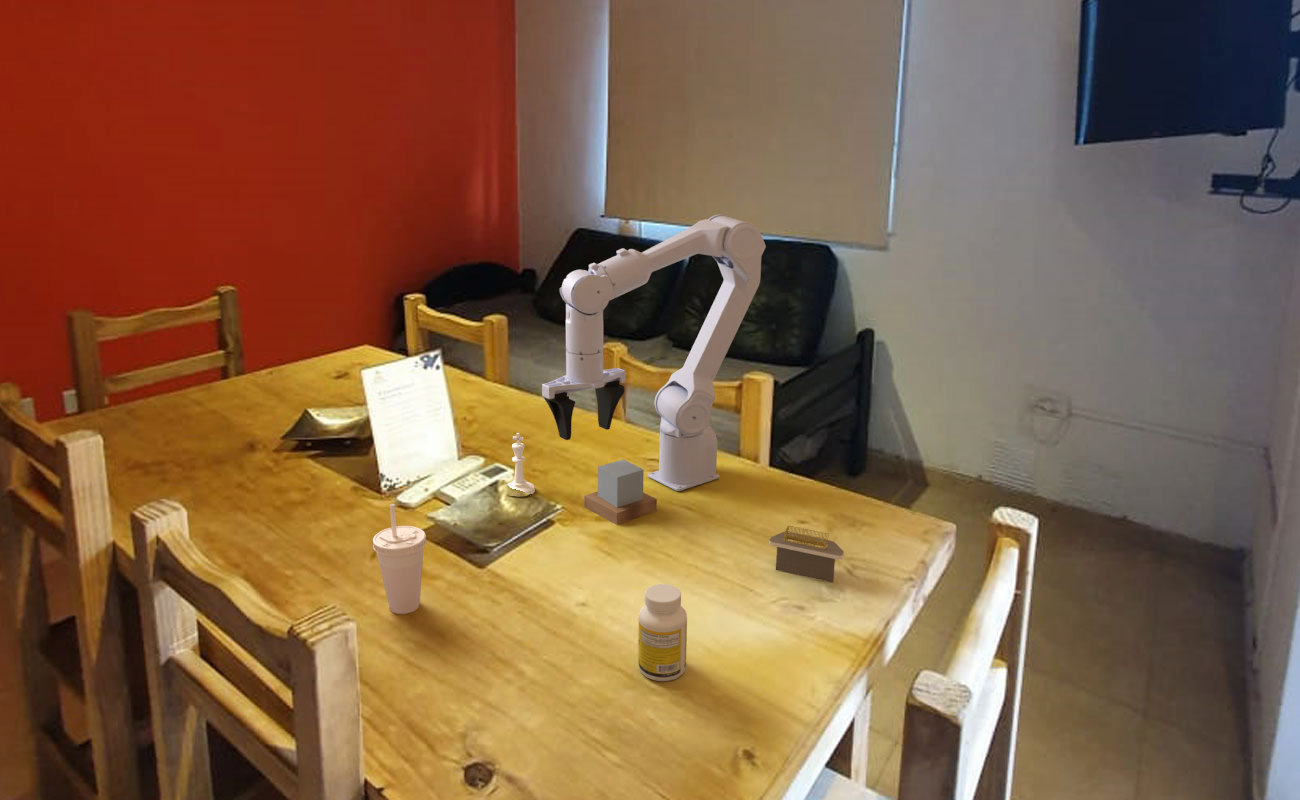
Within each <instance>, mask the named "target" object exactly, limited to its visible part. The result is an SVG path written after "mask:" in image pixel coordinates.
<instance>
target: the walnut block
mask: <svg viewBox="0 0 1300 800" xmlns="http://www.w3.org/2000/svg"><path fill="white" fill-rule="evenodd" d="M583 497H584V498H583V501H584V504H583V505H584V508H585V509H587V510H589V512H593V513H595V514H596V515H597V516H600V517H602V518H603V519H605V520H607V521H609V522H611V523H613V524H614V525H616V526H618V525H621V524H623V523H627V522H629V521H631V520H634V519H637V518H640V517H643V516H645V515H649V514H651V513H654V512H657V510H658V509H657V505H658V498H655V497H653V496H652V495H650V494H647V493H645V492H643V500H640V501H636V502H633V503H630V504H627V505H624V506H621V507H615V506H613V505H612V504H610V503H608V502H607V501H605V500H603V499H602V498H600V497H598V490H597V491H595V492H592V493H590V494H585V495H584V496H583Z"/></svg>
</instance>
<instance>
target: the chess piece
mask: <svg viewBox="0 0 1300 800" xmlns="http://www.w3.org/2000/svg"><path fill="white" fill-rule="evenodd" d="M512 440H513V441H515V442H514V443H512V445H511V448H512V451H513V454H514V456H513V457H512V458H511V461H512V462H514V463H515V467H514V469H515V470H514V478H513V480H512V481H511V482H509V483H507V484H506V485H508V486H509V487H510V488H512V489H516V490H520V491H523V492H526V493H531V494H532V495H533V494H534V493H535V492H536V489H535V485H534V484H533V483H532V482H530V481H529V482H528V481H527V480H526V479H525V475H524V468H523V462H525V461H526V457H525V456H523V453H524V450H525V443H523V441H524V440H525V439H524V436H521V434H520V433H519V432H516V434H515V435H514V436H513V435H512ZM521 441H522V442H521Z"/></svg>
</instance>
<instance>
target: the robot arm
mask: <svg viewBox="0 0 1300 800" xmlns="http://www.w3.org/2000/svg"><path fill="white" fill-rule="evenodd" d="M766 248H767V246H766V243H765V241H764V238H763V235H762V233H761V231H760V229H759V228H758V227H757V226H756V225H755V224H754V223H753V222H749V221H742V220H740V219H735V218H733V217H730V216H728V215H725V214H714V215H713V216H710V217H709V218H708V219H706V218H705V219H702V220H698V221H697V222H696V223H695V224H693V225H692V226H689V227H688V228H686V229H684V230H683V231H680V232H678V233H676V234H675V235H673V236H671V237H669V238H667V239H665V240H664V241H663V240H662V241H661V242H660V243H657V244H655V245H654V246H651V247H650V248H647V249H646V250H644V251H642V252H640V251H639V250H637V249H634V248H629V249H628V250H627V249H625V248H623V247H622V248H620V249H618V250H616V255H615V256H612V257H610V258H608V259H606V260H603V261H601V262H600V263H595V262H593V263H590V264H588V270H585V269H576V270H573V271H571V272H569V273H568V274H567V275H566V277H565V278H564V279H563V281H562V285H561V287H560V288H559V294H560V296H561V298H562V301H564V303H565V372H566V374H565V375H563V376H560V377H559V378H556V379H554V380H551V381H549V382H546V383H542V384H541V395H542V397H543V399H544V400H545V402H546V404H547V405H548V407H549V408H550V411H551V413H552V415H553V418H554V422H555V424H556V426H557V431H558V435H559V438H561V439H563V440H564V441H565V440H566V441H571V438H572V417H573V412H574V408H575V405H576V401H575V400H573V399H570V396H569V395H568V394H571V393H575V392H579V391H580V392H581V391H585V390H589V389H590V390H591V389H594V391H595V396H596V403H597V421H598V427H599V428H601V429H604V430H610V429H611V424H612V421H613V418H614V416H615V412H616V409H617V407H618V403H619V401H621V398H622V397H623V395H624V394H625V386H624V385H623V384H624V383H626V370H625V369H621V368H619V367H616V368H609V369H608V368H607V369H604V310H605V308H607V306H608V304H609V302H610V301H611V300H613V299H616V298H618V297H620V296H622V295H625V294H626V293H628V292H631V291H633V290H635V289H637V288H640V287H641V286H643V285H645V284H647V283H648V281H649V280H650V277H651V275H652V273H653V272H656V271H658V270H661V269H663V268H665V267H668V266H670V265H673V264H675V263H677V262H678V263H679V262H680V261H683V260H685V259H687V258H689V257H693V256H695V255H698V254H699V255H705V256H711V257H712V258H713V259H714V260H715V262H716V263H717V265H718V267H719V271H720V273H721V277H722V278H723V281H722V284H721V286H720V288H719V290H718V292H717V294H716V296H715V299H713V303H712V305H711V306H710V309H709V311H708V313H707V316H706V317H705V319H704V322H703V324H702V325H701V328H700V330H699V332H698V334H697V337H696V339H695V341H694V343H693V345H692V346H691V350H690V351H689V353H688V356H687V358H686V360H685V362H684V364H683V367H681V368H679V369H678V370H676V371H675V372H673V373H671V375H670V377H669V379H668V381H667V382H666V383H665V385H663V386H662V387H661V388H660V389H659V390H658V391H657V393H656V395H655V398H654V408H655V410H656V412H657V414H658V415H659V416H660V424H659V451H658V453H659V456H658V457H659V461H658V470H656V471H652V472H649V473H648V474H647V477H648V478H649V479H652V480H654V481H656V482H658V483H660V484H661V485H664V486H666V487H668V488H669V489H672V490H674V491H675V492H681V491H684V490H687V489H690V488H694V487H697V486H700V485H703V484H705V483H708V482H711V481H714V480H718V479H719V478H720V475H719V474H718V473H717V462H718V461H717V457H718V439H717V438H718V437H717V435H716V433H715V430H714V429H713V427H712V426H711V425H709V424H710V423H711V418H712V409H713V408H712V407H713V404H714V403H715V400H716V393H715V388H714V380H715V378H716V376H717V374H718V372H719V370H720V367H721V365H722V364H723V361H724V359H725V357H726V355H727V353H728V351H729V349H730V347H731V344H732V342H733V340H734V339H735V336H736V334H737V332H738V330H739V328H740V325H741V323H742V321H743V319H744V317H745V315H746V314H747V311H748V309H749V307H750V305H751V303H752V300H753V299H754V297H755V295H756V292H757V290H758V288H759V286H760V284H761V276H762V275H761V272H762V271H761V270H762V256H763V254H764V251H765V249H766Z"/></svg>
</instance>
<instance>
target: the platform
mask: <svg viewBox="0 0 1300 800" xmlns="http://www.w3.org/2000/svg"><path fill="white" fill-rule="evenodd" d="M828 535H830V534H829V533H828V532H824V531H820V530H814V529H808V528H804V527H798V526H794V525H789V524H788V525H787V526H786V528H785V529H784V531H782V532H780V533H778V534H775V535H773V536H771V537H769V541H768V542H769V544H768V545H769V546H771V547H772V546H773V547H775V548H776V559H775V571H778V572H782V573H787V574H792V575H796V576H801V577H806V578H810V579H815V580H820V581H824V582H829V583H832V584H833V583H834V575H835V574H834V573H835V563H836V560H838V561H839V560H843V557H844V553H845V551H844V550H843V549H842V548H841V546H839V545H838V544H837V543H836V542H835V541H834V540H831V539H829V538H828Z"/></svg>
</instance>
